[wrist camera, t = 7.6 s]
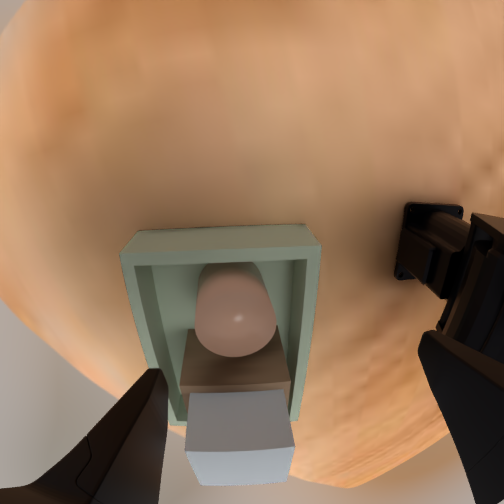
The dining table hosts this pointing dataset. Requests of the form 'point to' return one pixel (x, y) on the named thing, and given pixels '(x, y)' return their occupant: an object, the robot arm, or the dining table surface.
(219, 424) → the gray block
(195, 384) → the walnut block
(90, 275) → the dining table surface
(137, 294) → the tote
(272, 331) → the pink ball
